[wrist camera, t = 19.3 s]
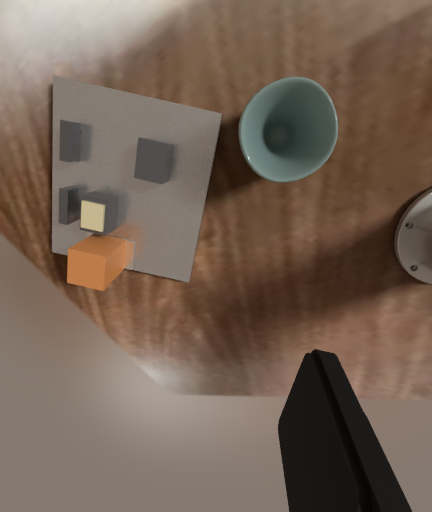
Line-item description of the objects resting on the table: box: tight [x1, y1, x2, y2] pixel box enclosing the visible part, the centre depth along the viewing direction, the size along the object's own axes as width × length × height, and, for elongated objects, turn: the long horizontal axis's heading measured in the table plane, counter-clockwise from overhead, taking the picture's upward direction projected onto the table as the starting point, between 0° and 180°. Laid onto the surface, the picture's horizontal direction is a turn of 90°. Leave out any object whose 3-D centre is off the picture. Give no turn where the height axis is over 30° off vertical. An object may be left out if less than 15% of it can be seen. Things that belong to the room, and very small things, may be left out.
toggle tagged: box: [80, 191, 119, 236], centre depth 33 cm, size 3×4×3 cm
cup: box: [238, 77, 338, 183], centre depth 28 cm, size 8×8×10 cm
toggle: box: [134, 137, 174, 184], centre depth 31 cm, size 3×4×3 cm
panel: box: [52, 76, 223, 282], centre depth 33 cm, size 18×20×4 cm
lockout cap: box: [67, 233, 127, 291], centre depth 34 cm, size 4×4×6 cm
